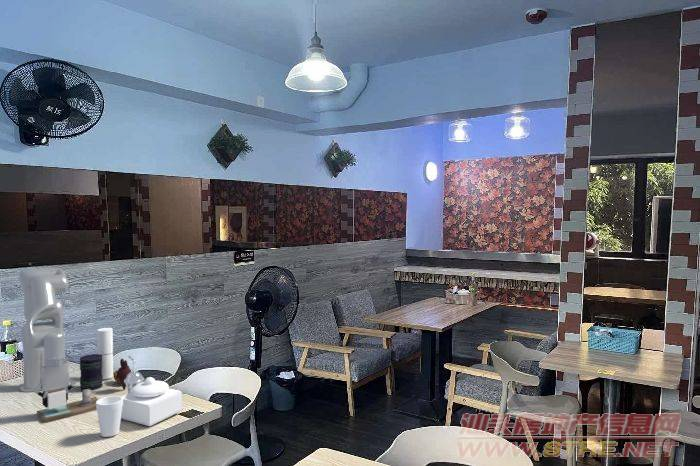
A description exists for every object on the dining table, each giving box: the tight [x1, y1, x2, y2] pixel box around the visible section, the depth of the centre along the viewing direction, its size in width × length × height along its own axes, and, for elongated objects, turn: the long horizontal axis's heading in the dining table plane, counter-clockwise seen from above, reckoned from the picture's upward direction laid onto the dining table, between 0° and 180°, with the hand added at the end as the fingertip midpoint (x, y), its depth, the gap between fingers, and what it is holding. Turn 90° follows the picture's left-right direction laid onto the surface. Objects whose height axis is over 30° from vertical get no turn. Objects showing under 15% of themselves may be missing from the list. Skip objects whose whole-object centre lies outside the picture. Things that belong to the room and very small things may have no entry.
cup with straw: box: [124, 355, 145, 394], centre depth 219 cm, size 8×9×20 cm
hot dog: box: [113, 370, 122, 386], centre depth 244 cm, size 5×13×5 cm, turn 43°
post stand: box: [36, 389, 99, 424], centre depth 209 cm, size 12×23×8 cm, turn 135°
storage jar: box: [79, 353, 104, 391], centre depth 237 cm, size 10×10×15 cm
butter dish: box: [120, 376, 183, 427], centre depth 206 cm, size 18×18×16 cm
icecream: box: [116, 358, 132, 391], centre depth 233 cm, size 7×7×15 cm
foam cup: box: [95, 395, 123, 438], centre depth 188 cm, size 10×9×13 cm
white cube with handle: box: [46, 388, 67, 409], centre depth 204 cm, size 6×6×7 cm
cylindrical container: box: [96, 327, 114, 380], centre depth 252 cm, size 7×7×25 cm
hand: (55, 403), depth 204 cm, fingers closed on white cube with handle, 6 cm apart
